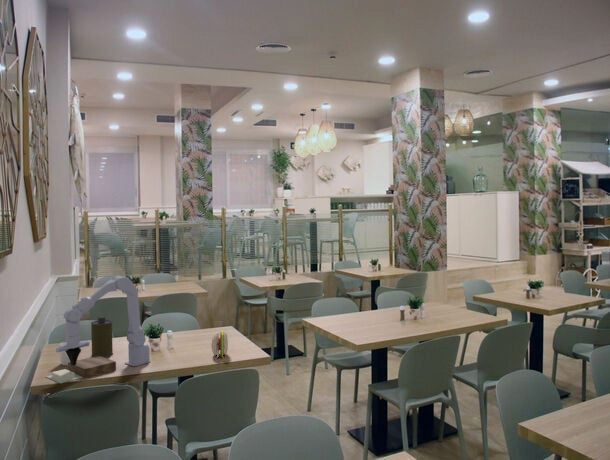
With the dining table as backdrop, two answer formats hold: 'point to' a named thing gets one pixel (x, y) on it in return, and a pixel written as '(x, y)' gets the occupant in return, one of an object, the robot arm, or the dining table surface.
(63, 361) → the white cup
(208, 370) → the dining table surface
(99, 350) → the canister
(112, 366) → the board
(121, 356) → the dining table surface
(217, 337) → the hamburger
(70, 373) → the card
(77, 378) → the mat
